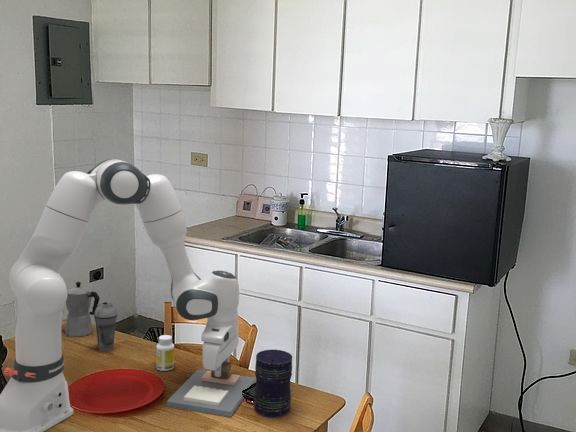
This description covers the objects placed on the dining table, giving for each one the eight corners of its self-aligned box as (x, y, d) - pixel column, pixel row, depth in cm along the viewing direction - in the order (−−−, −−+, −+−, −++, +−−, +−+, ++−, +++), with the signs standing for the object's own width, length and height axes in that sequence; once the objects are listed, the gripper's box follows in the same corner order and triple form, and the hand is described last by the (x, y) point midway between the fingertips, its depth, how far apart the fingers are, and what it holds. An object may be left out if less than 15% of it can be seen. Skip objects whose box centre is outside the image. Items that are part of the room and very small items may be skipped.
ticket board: (230, 417, 168) (230, 407, 167) (166, 406, 172) (166, 397, 171) (255, 382, 189) (255, 374, 188) (197, 374, 193) (197, 365, 192)
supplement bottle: (176, 364, 199) (176, 334, 197) (171, 372, 193) (171, 341, 192) (159, 363, 199) (159, 333, 197) (153, 370, 194) (154, 339, 192)
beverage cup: (93, 345, 211) (93, 286, 207) (116, 344, 213) (116, 285, 210) (94, 354, 204) (93, 293, 200) (118, 352, 206) (117, 292, 203)
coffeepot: (54, 332, 220) (53, 282, 217) (73, 324, 229) (73, 275, 226) (89, 341, 214) (89, 289, 211) (108, 332, 223) (108, 282, 220)
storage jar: (256, 398, 179) (258, 347, 176) (292, 402, 178) (294, 351, 175) (250, 415, 169) (252, 362, 166) (288, 419, 168) (290, 365, 165)
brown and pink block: (234, 385, 182) (235, 369, 182) (201, 380, 185) (201, 364, 184) (240, 378, 187) (240, 362, 186) (207, 373, 189) (208, 357, 189)
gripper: (224, 314, 194) (223, 357, 196) (198, 337, 174) (197, 385, 177) (244, 317, 192) (242, 360, 195) (220, 340, 173) (219, 388, 175)
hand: (221, 372), depth 186 cm, fingers closed on brown and pink block, 3 cm apart
